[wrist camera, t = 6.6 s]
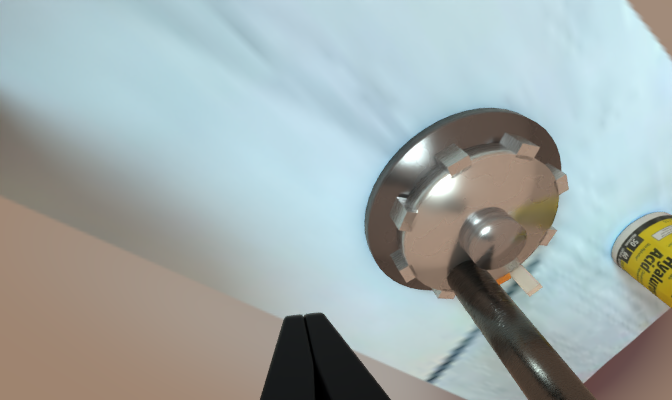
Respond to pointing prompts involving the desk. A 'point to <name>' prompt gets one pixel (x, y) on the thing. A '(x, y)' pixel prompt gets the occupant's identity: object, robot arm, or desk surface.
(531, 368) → the sprocket
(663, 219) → the supplement bottle
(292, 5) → the desk surface
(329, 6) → the desk surface
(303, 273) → the desk surface
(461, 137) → the base plate
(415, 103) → the desk surface
